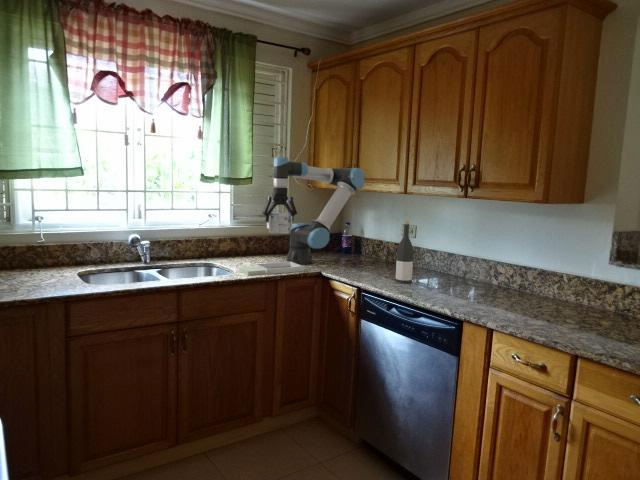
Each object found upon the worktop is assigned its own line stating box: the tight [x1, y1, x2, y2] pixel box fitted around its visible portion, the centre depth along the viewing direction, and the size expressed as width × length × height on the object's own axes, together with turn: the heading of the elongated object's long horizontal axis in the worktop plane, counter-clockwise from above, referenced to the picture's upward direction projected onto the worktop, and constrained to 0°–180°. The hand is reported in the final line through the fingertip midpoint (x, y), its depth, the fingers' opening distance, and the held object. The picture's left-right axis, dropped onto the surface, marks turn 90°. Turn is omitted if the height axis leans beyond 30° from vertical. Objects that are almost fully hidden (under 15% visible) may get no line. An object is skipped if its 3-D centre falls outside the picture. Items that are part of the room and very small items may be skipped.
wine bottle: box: [395, 220, 414, 285], centre depth 240 cm, size 8×8×30 cm
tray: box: [253, 261, 305, 275], centre depth 262 cm, size 22×16×2 cm
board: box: [238, 265, 265, 276], centre depth 252 cm, size 9×12×2 cm
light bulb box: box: [268, 211, 290, 235], centre depth 259 cm, size 11×7×11 cm, turn 84°
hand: (279, 228), depth 259 cm, fingers closed on light bulb box, 12 cm apart
